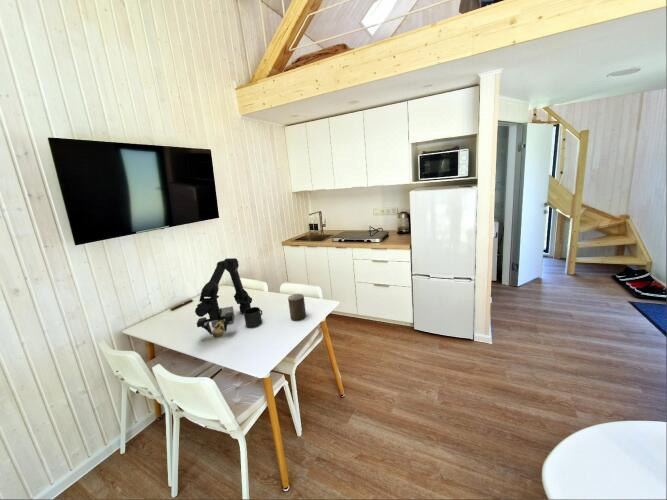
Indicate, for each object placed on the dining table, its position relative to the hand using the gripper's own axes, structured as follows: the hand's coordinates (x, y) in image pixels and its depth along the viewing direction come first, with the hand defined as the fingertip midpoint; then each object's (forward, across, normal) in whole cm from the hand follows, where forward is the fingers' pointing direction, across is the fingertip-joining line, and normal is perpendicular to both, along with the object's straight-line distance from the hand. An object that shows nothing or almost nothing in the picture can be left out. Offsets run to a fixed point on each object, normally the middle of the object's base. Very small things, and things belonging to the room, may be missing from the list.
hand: (218, 333), depth 154 cm
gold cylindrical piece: (+2, 0, -5) cm, 5 cm away
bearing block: (+2, 0, -18) cm, 18 cm away
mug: (+2, -20, -7) cm, 21 cm away
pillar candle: (+2, -46, -4) cm, 46 cm away
